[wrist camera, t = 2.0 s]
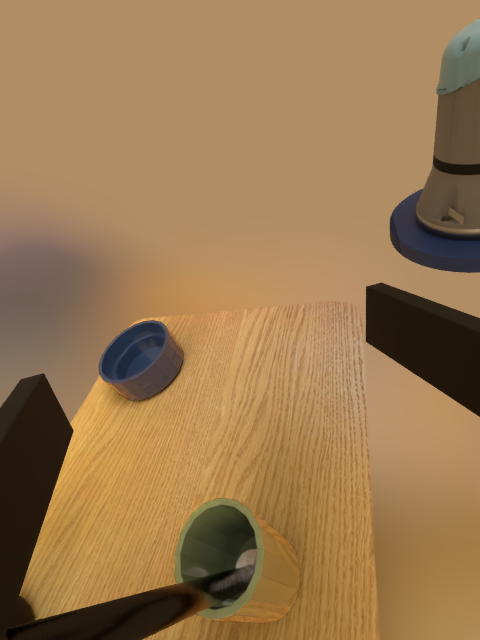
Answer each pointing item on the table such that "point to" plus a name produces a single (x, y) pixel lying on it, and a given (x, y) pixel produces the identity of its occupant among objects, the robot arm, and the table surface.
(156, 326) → the bowl
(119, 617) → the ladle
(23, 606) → the mug
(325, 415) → the table surface
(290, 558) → the crock
